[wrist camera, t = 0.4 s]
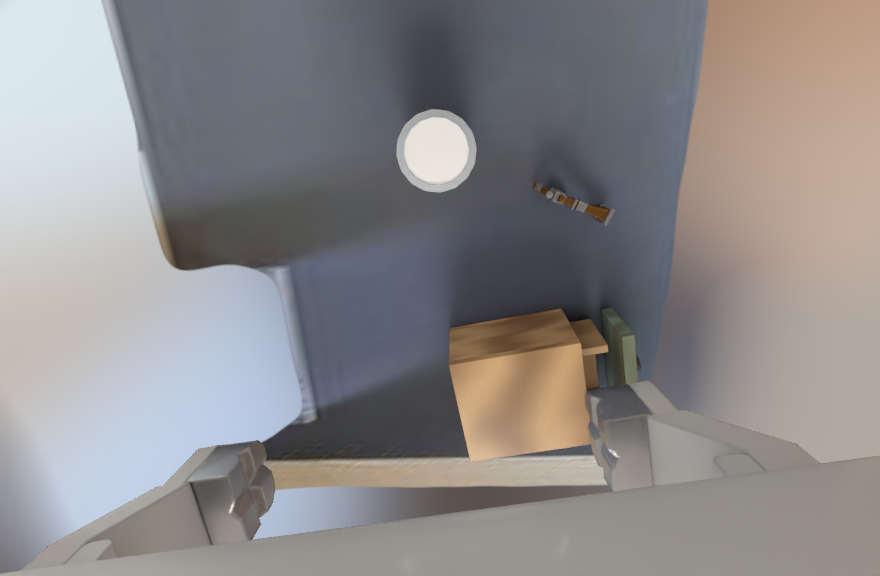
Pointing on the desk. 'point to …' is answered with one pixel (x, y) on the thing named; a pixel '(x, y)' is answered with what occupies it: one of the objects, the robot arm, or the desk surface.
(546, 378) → the cabinet
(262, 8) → the desk surface
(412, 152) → the white cup
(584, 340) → the drawer
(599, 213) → the wooden post with brackets
